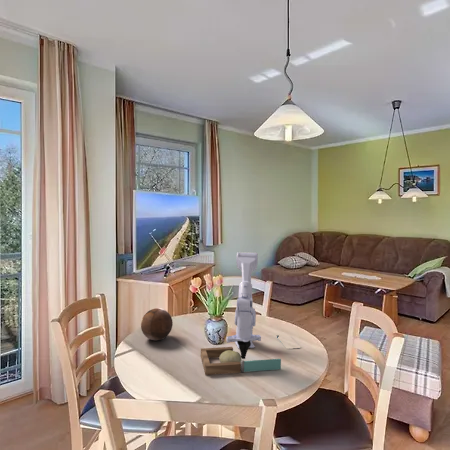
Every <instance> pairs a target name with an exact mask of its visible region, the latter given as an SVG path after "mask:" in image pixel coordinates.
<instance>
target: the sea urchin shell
mask: <svg viewBox="0 0 450 450" xmlns="http://www.w3.org/2000/svg"><path fill="white" fill-rule="evenodd" d="M218 358H219V359H218V360H219V363H226V362H240V363H241V360H242V358H241V353H239V351H235V350H233V351H232V350H231V351H230V350H227V351H225V352H223V353H222V354H221V355H220V357H218Z"/></svg>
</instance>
